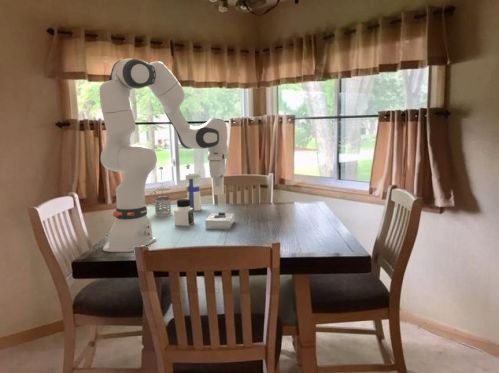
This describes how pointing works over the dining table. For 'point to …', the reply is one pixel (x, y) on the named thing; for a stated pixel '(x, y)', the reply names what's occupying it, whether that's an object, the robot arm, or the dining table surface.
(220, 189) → the plug
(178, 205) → the medicine bottle
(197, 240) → the dining table surface
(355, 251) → the dining table surface
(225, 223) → the socket
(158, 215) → the french press
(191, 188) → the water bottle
